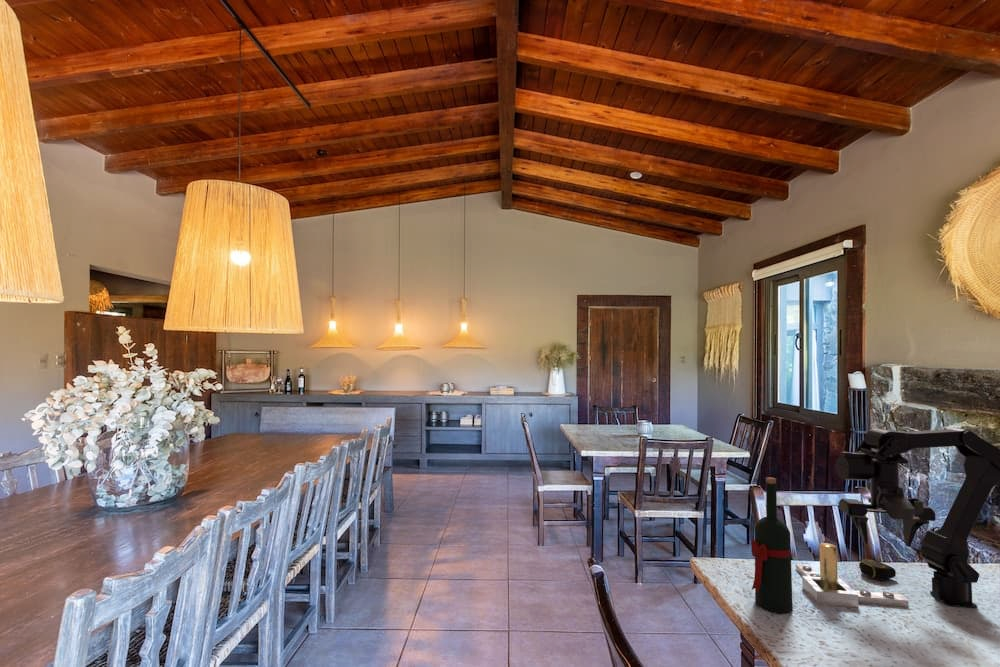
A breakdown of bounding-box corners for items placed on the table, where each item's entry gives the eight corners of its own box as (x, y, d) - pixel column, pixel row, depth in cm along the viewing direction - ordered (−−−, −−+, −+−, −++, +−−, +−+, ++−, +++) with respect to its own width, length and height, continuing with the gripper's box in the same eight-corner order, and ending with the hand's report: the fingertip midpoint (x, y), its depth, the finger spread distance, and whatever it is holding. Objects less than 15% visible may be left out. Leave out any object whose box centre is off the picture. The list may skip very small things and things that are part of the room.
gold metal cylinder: (834, 594, 125) (832, 543, 125) (841, 601, 121) (839, 548, 122) (818, 593, 125) (816, 542, 126) (824, 600, 122) (823, 547, 122)
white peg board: (867, 574, 136) (867, 563, 136) (916, 612, 116) (915, 599, 116) (785, 568, 140) (784, 557, 140) (817, 604, 120) (817, 591, 120)
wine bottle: (740, 603, 120) (738, 476, 121) (770, 595, 124) (768, 473, 125) (769, 618, 113) (767, 484, 114) (800, 610, 117) (797, 480, 118)
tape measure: (897, 581, 133) (897, 566, 133) (879, 584, 131) (878, 569, 131) (871, 570, 139) (871, 557, 140) (853, 573, 137) (853, 559, 137)
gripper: (858, 486, 118) (860, 553, 117) (950, 491, 114) (952, 560, 113) (837, 475, 129) (838, 537, 128) (919, 479, 125) (921, 543, 124)
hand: (886, 544), depth 123 cm, fingers open, 9 cm apart
